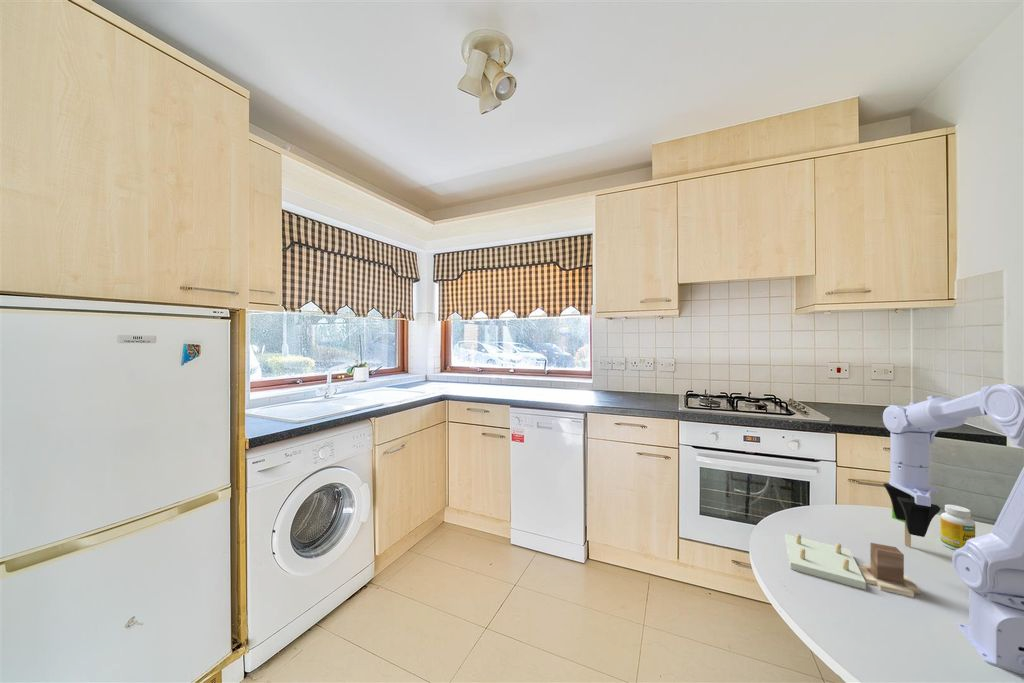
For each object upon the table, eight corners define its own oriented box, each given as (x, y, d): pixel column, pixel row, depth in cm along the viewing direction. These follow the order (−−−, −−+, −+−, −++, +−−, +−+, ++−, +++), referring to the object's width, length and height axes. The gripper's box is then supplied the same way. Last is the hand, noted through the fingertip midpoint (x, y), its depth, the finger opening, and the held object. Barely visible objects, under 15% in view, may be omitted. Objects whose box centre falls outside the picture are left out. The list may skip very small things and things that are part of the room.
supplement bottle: (949, 540, 91) (950, 502, 91) (981, 552, 86) (981, 511, 86) (934, 542, 90) (934, 504, 90) (965, 555, 85) (965, 514, 85)
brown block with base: (925, 600, 70) (925, 564, 70) (870, 588, 74) (870, 553, 74) (901, 576, 77) (902, 543, 77) (853, 566, 81) (853, 534, 81)
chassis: (865, 589, 73) (865, 572, 73) (790, 569, 79) (790, 553, 79) (849, 555, 85) (849, 540, 85) (784, 540, 91) (784, 526, 91)
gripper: (954, 477, 69) (954, 549, 69) (923, 457, 81) (922, 518, 81) (901, 470, 73) (901, 538, 73) (879, 452, 85) (879, 510, 85)
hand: (909, 527), depth 77 cm, fingers open, 7 cm apart
